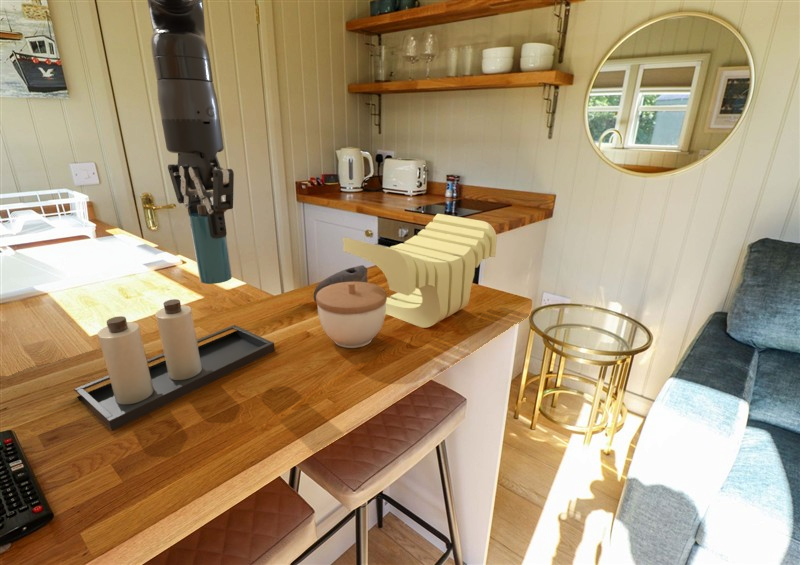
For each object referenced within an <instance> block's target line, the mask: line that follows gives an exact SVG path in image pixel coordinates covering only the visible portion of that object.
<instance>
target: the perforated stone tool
mask: <svg viewBox="0 0 800 565" xmlns="http://www.w3.org/2000/svg"><path fill="white" fill-rule="evenodd" d="M368 281H369V280H368V268H367V267H366V266H365V265H363V264H362V265H357V266H353V267H349V268H345V269H343V270H340V271H338V272H336V273H334V274H332V275H329V276H328V277H327V278H325V279H323V280H322V281H321V282H320V283H318V284H317V286H316V287H315V288H314V290H313V300H314V301H313V302H315V303H316V304H317V302H316V295H317V293H318V292H319V291H320V290H321V289H322V288H324V287H326V286H329V285H332V284H336V283H342V282H366V283H369V282H368Z"/></svg>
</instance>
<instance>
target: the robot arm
mask: <svg viewBox="0 0 800 565" xmlns="http://www.w3.org/2000/svg"><path fill="white" fill-rule="evenodd" d="M146 2H147V7H148V11H149V12H148V13H149V18H150V23H151V28H152V35H151V38H150V47H151V48H150V49H151V56H152V61H153V62H152V63H153V67H154V73H155V78H156V86H157V87H156V89H157V102H158V108H159V113H160V119H161V125H162V131H163V135H164V141H165V147H166V151H168V152H169V153H172V154H177V163H172V164H171V163H170V164H168V165H167V171H168V173H169V176H170V181H171V184H172V187H173V190H174V194H175V197H176V200H177V202H178V204H183V206H184V208H185V209H186V210H187V213H188V216H189V215H190V214H192V213H196V212H198V210H197V204H201V203H205V206H206V209H207V211H208V213H209V214H208V221H209V227H210V234H211V237H212V238H215V239H218V238H222V237H225V236H226V237H227V235H228V234H227V224H226V218H225V212H227V211H228V210H233V208H234V185H235V182H234V181H235V174H234V170H233V169H232V168H223V167H221V164H220V161H219V158H218V155H217V154H218V153H221V152H223V151H224V148H225V147H224V139H223V132H222V122H221V118H220V117H221V116H220V110H219V101H218V97H217V94H216V88H215V85H214V79H213V78H214V77H213V70H212V63H211V58H210V52H209V48H208V43H207V39H206V25H205V24H206V23H205V11H204V1H203V0H146ZM224 196H225V197H224ZM224 198H225V199H224Z"/></svg>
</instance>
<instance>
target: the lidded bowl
mask: <svg viewBox="0 0 800 565" xmlns="http://www.w3.org/2000/svg"><path fill="white" fill-rule="evenodd" d="M387 297H388V293H387V291H386V290H385V289H384V287H382V286H381V285H378V284H375V283H371V282H367V283H366V282H342V283H336V284H332V285H329V286H326V287H324V288H322V289H321V290H320V291H319V292H318V293H317V295H316V302H317V303H316V302H315V303H316V305H317V315H318V320H319V323H320V327H321V328H322V330H323V332H324V333H325V335H326V336H327V337H328V338H329V339H331V340H332V341H333V342H334V344H336V345H337V346H339V347H342V348H345V349H346V348H347V349H357V348H358V349H359V348H363V347H365V346H367V345H369V344H370V343H371V342H372V341H373V339H374V338H375V337H376V336H377V335H378V334H379V333H380V332H381V330H382V328H383V326H384V324H385V319H386V314H385V313H386V300H387Z"/></svg>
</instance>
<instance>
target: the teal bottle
mask: <svg viewBox="0 0 800 565" xmlns="http://www.w3.org/2000/svg"><path fill="white" fill-rule="evenodd" d="M197 210H198V212H196V213H192V214H190V215H189V214H188V219H189V220H188V221H189V225H190V231H191V237H192V244H193V249H194V254H195V260H196V267H197V273H198V278H199V282H200V283H202V284H206V285H216V284H222V283H225V282H228V281H230V280H231V279H232V278H233V274H232V266H231V260H230V253H229V246H228V238H227V235H226V236H225V237H222V238H218V239H215V238H212V237H211V234H210V227H209V221H208V214H209V213H208V211H207V209H206V206H205V203H204V202H203V203H201V204H197Z"/></svg>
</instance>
